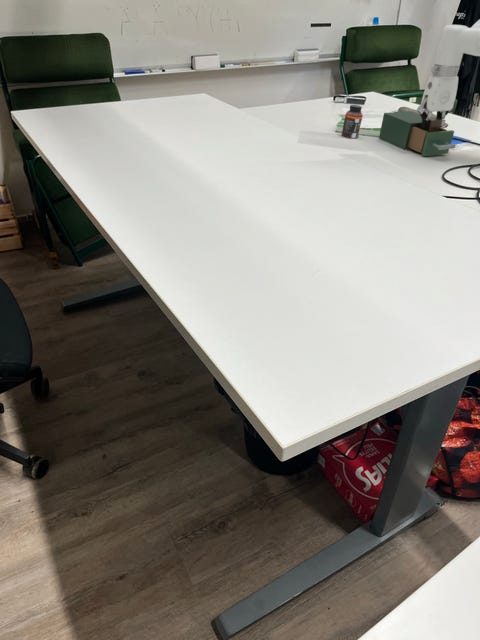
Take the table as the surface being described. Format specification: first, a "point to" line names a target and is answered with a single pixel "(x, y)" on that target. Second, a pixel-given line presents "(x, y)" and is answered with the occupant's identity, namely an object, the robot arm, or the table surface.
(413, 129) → the drawer
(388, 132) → the cabinet
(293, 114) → the table surface
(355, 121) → the supplement bottle
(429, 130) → the block
